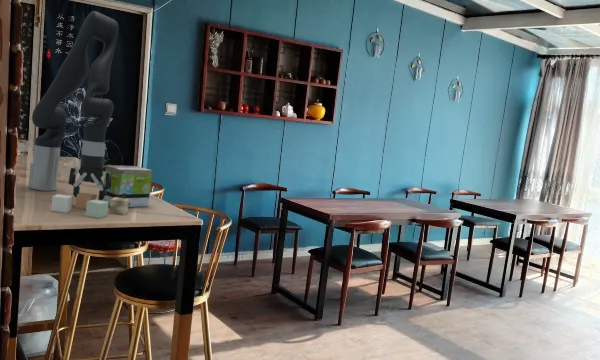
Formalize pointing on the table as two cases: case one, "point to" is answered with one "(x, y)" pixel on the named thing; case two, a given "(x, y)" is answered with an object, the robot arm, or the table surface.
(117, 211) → the maple cube
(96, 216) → the sage cube
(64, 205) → the cream cube
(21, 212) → the table surface
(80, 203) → the terracotta cube
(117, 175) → the tea box
